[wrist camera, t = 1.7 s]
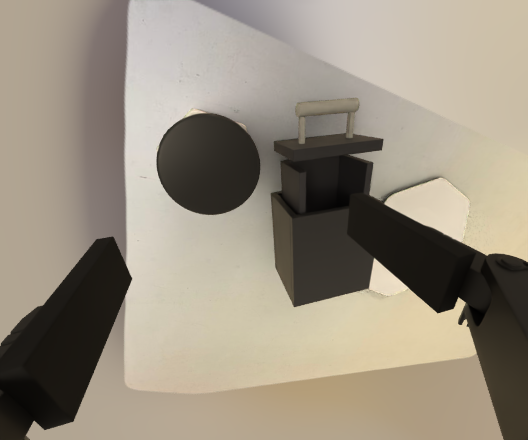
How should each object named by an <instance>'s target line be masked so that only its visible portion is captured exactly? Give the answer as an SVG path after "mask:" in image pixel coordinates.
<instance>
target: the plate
mask: <svg viewBox="0 0 528 440" xmlns="http://www.w3.org/2000/svg"><path fill="white" fill-rule="evenodd" d="M383 204H385V205H387V206H389V207H390V208H392V209H394V210H396V211H398V212H400V213H402V214H404V215H406V216H407V217H409V218H411V219H413V220H415V221H417V222H419V223H421V224H423V225H425V226H429V227H432V228H434V229H436V230H438V231H440V232H442V233H444V235H445V234H446V235H448V236H450V237H452V239H456V240H457V241H459V242H461V243H462V242H463V237H464V232H465V227H466V222H467V218H468V213H469V208H470V201H469V199H468V198H467V197H466V196H464V195H463V194H462V193H461V192H460V191H459V190H457V189H456V188H455V187H454V186H453V185H452V184H451V183H449V182H448V181H447V180H446V179H445V178H436V179H433V180H430V181H428V182H425V183H422V184H419V185H416V186H413V187H410V188H408V189H405V190H402V191H399V192H396V193H393V194H392V195H390V196H389V197H388V198H387V199H386V200H385V201H384V203H383ZM368 289H370V290H372V291H375V292H377V293H380V294H383V295H385V296H392V295H394V294H397V293H399V292H402V291H404V290H407V289H409V288H408V287H407V286H406V285H405V284H403V283H402V282H401V281H400V280H399V279H398V278H397V277H395V276H394V275H393V274H392V273H391V272H390V271H389V270H387V269H386V268H385V267H384V266H383V265H382V264H381V263H379V262H378V261H377V260H376V259H375V258H374V262H373V268H372V273H371V279H370V285H369V288H368Z"/></svg>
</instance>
